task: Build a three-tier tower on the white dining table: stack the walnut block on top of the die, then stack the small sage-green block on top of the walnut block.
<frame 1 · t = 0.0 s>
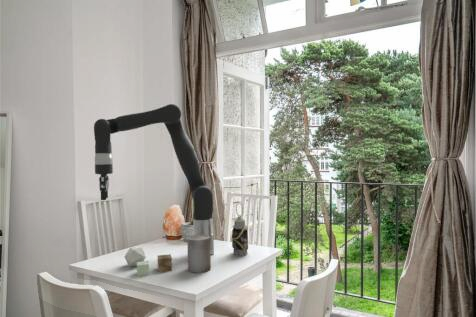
hand: (104, 199, 160), 29 cm above the table, tool pointing down, fingers open, 8 cm apart
green block: (142, 274, 144), on the table
lantern: (240, 254, 171), on the table
die: (135, 265, 156), on the table
grey upright cylinder: (199, 269, 149), on the table
walnut block: (164, 269, 150), on the table
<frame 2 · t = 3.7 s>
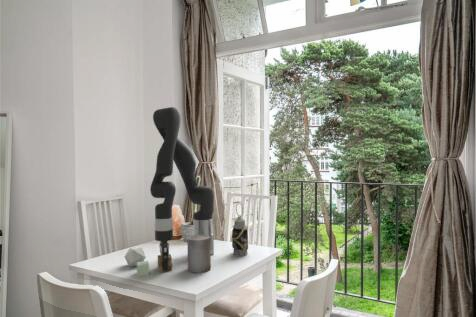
hand: (164, 267, 150), 1 cm above the table, tool pointing down, fingers closed on walnut block, 5 cm apart
walnut block: (164, 269, 150), on the table, touching gripper
everything else where it was.
when the fingers open (10 cm above the table, at t = 8.0 s): walnut block drops 2 cm, resting on die.
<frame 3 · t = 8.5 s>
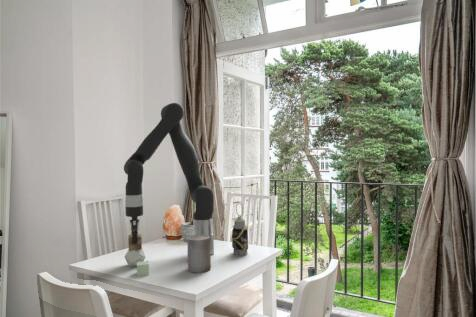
hand: (135, 241, 156), 11 cm above the table, tool pointing down, fingers open, 8 cm apart
die: (135, 265, 156), on the table, touching walnut block
walnut block: (135, 248, 156), point 8 cm above the table, touching die
everything else where it was.
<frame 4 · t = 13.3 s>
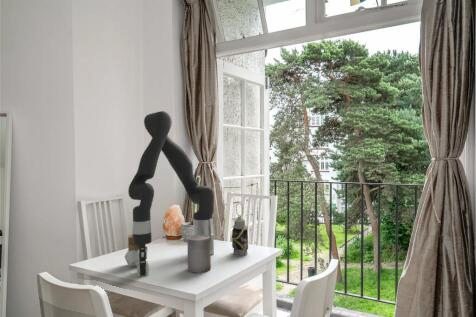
hand: (142, 272, 144), 0 cm above the table, tool pointing down, fingers closed on green block, 4 cm apart
green block: (142, 273, 144), on the table, touching gripper
everything else where it was.
when the fingers open (15 cm above the table, at t = 18.2 s): green block drops 1 cm, resting on walnut block.
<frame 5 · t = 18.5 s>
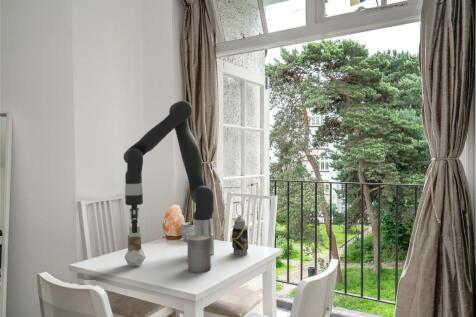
hand: (134, 231, 156), 15 cm above the table, tool pointing down, fingers open, 6 cm apart
green block: (134, 235, 156), point 13 cm above the table, touching walnut block
walnut block: (134, 248, 156), point 8 cm above the table, touching die, green block
everything else where it was.
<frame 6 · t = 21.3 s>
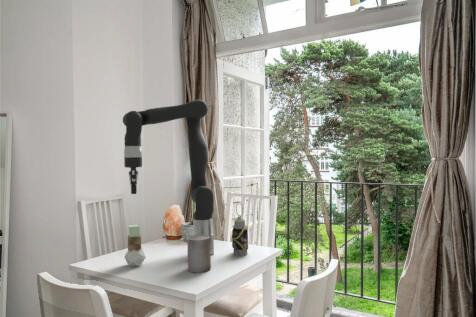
hand: (133, 193, 156), 32 cm above the table, tool pointing down, fingers open, 8 cm apart
green block: (134, 235, 156), point 13 cm above the table
walnut block: (134, 248, 156), point 8 cm above the table, touching die
everything else where it was.
at the end: walnut block 0.2 cm off-centre on the die, point 7.9 cm above the die's base; green block 0.1 cm off-centre on the walnut block, point 5.5 cm above the walnut block's base; green block tilted 0° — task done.
